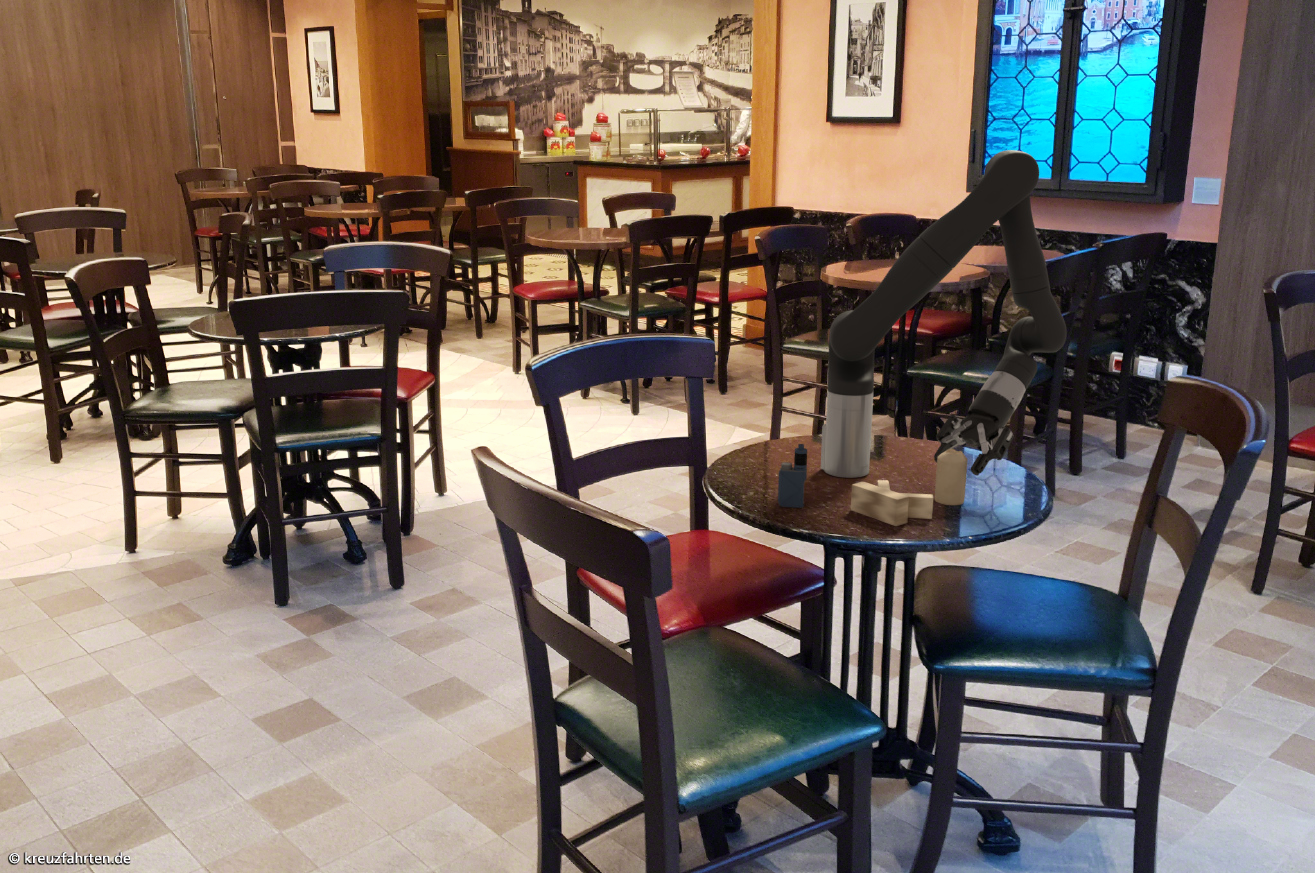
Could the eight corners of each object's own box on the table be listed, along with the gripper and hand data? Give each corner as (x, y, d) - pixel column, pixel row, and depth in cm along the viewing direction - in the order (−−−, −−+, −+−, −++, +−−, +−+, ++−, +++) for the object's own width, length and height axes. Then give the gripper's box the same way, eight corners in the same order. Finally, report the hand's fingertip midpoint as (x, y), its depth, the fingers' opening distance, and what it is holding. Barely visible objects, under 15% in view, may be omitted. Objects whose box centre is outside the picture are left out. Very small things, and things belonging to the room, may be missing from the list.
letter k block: (846, 508, 204) (847, 482, 203) (881, 498, 210) (882, 473, 208) (901, 528, 194) (902, 501, 192) (937, 517, 199) (938, 491, 198)
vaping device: (805, 508, 204) (807, 446, 201) (777, 506, 205) (778, 445, 202) (806, 504, 206) (808, 443, 203) (778, 502, 207) (780, 441, 204)
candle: (931, 496, 211) (935, 446, 208) (960, 496, 211) (964, 446, 208) (937, 505, 206) (941, 454, 203) (967, 505, 206) (971, 454, 203)
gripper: (959, 382, 214) (917, 448, 210) (1021, 395, 203) (978, 465, 199) (974, 405, 218) (933, 470, 215) (1036, 418, 207) (994, 487, 204)
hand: (955, 467), depth 207 cm, fingers open, 8 cm apart
